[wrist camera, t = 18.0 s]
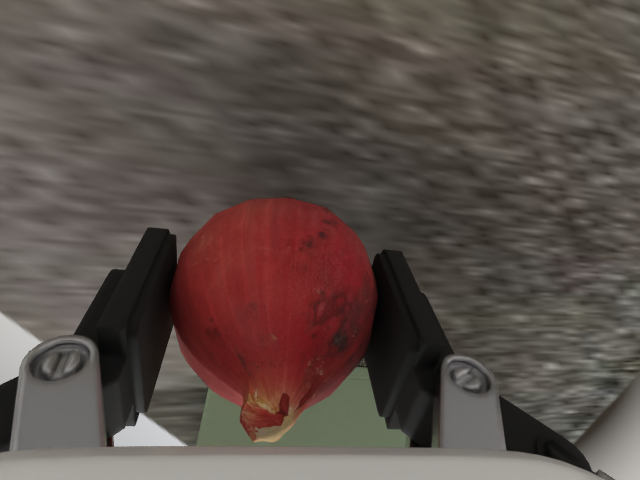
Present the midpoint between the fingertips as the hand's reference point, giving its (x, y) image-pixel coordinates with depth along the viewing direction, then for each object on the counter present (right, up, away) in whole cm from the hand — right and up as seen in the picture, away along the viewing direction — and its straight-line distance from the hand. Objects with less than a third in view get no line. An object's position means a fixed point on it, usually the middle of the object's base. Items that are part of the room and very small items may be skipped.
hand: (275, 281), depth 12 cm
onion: (0, +2, +3) cm, 3 cm away
